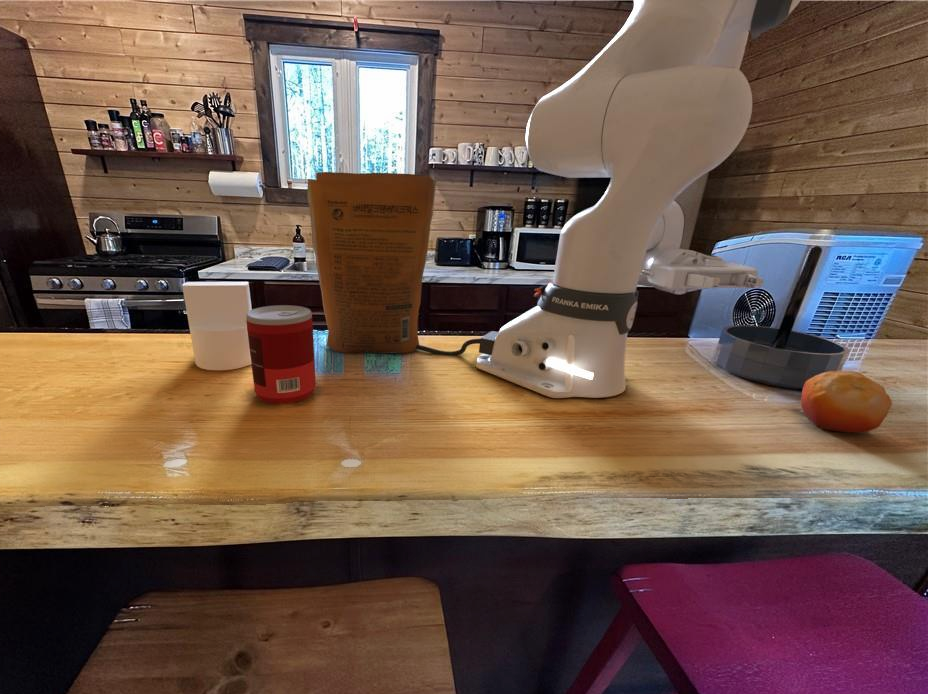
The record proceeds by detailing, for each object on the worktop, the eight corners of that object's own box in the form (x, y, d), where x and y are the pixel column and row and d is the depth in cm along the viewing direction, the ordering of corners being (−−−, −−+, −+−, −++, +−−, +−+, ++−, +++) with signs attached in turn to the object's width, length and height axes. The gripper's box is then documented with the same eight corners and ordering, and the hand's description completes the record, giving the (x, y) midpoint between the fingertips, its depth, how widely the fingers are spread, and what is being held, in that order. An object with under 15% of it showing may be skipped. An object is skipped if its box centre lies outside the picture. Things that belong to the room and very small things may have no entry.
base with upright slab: (189, 371, 64) (174, 289, 59) (202, 352, 72) (190, 278, 67) (254, 368, 66) (245, 289, 61) (259, 350, 74) (251, 278, 69)
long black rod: (750, 368, 72) (794, 245, 65) (752, 360, 76) (795, 243, 68) (790, 376, 69) (841, 248, 62) (790, 368, 73) (838, 246, 65)
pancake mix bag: (429, 357, 73) (439, 174, 62) (315, 355, 72) (304, 168, 61) (426, 345, 80) (434, 176, 69) (321, 343, 78) (312, 171, 67)
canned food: (327, 387, 60) (324, 309, 56) (289, 410, 53) (281, 323, 49) (283, 377, 63) (277, 302, 59) (242, 397, 56) (231, 314, 52)
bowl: (705, 372, 72) (716, 337, 69) (718, 350, 83) (728, 320, 81) (836, 402, 62) (853, 362, 60) (830, 372, 74) (844, 338, 72)
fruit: (848, 402, 59) (891, 364, 52) (864, 453, 54) (913, 418, 48) (778, 392, 61) (810, 355, 55) (787, 440, 57) (824, 406, 50)
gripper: (639, 255, 86) (694, 264, 74) (723, 256, 91) (789, 266, 78) (631, 287, 89) (683, 301, 76) (714, 286, 93) (776, 300, 81)
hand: (737, 283), depth 77 cm, fingers open, 8 cm apart
